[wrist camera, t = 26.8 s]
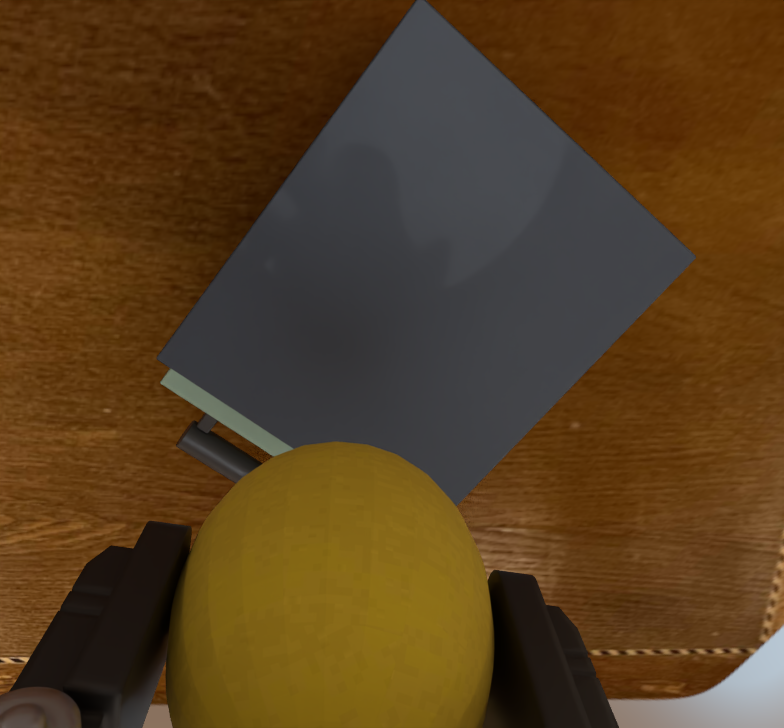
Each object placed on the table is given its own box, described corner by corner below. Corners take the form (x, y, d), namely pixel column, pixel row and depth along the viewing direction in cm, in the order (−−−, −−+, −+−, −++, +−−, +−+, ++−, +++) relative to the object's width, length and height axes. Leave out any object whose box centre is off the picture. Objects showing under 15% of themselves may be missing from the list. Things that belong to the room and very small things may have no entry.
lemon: (273, 606, 16) (203, 1018, 9) (183, 421, 14) (-4, 755, 7) (483, 547, 16) (589, 925, 9) (420, 348, 14) (489, 620, 7)
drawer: (339, 499, 35) (335, 599, 28) (158, 382, 32) (101, 461, 25) (564, 248, 31) (627, 290, 24) (378, 84, 28) (385, 76, 21)
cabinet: (409, 428, 35) (427, 537, 26) (212, 288, 32) (155, 359, 23) (600, 215, 31) (697, 257, 22) (399, 31, 28) (419, -6, 19)
